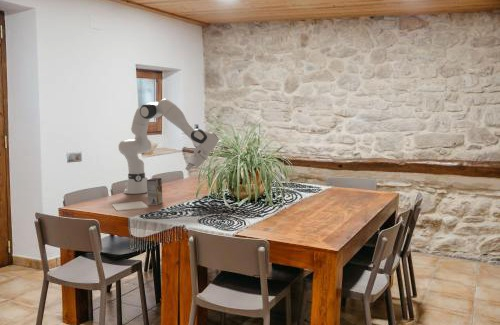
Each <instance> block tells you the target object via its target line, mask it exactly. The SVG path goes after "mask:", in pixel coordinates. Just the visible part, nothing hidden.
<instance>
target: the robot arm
mask: <svg viewBox="0 0 500 325" xmlns="http://www.w3.org/2000/svg"><path fill="white" fill-rule="evenodd" d="M160 117H164V118H165V119H166V120H167V121H168V122H170V123H172V125H174V126H176V127H177V128H178V129H179V130H181V131H182V132H183V133H184V134H185V135H186V136H187V137H188V139H190V140H191V142H192V144H193V146H194V148H195V149H194V151H193V153H192V154H190V155H189V157H187V159H185V163H186V164H187V165H186V166H185V170H186V171H190V170H191V169H193V167H195V168H199V167H200V166H201V165H202V164H203V163H204V162H205V161H206V160H208V159H209V155H210V153H211V152H213V150H214V149H215V148H216V147H217V146H218V144H217V142H218V141H220V140H219V138H218V136H217V135H216V134H215V133H214V132H209V131H205V130H202V129H200V128H193V127H192V126H191V125H190V124H189V122H188V120H187V118H186V116H185V114H184V112H183V111H182V109H181V108H180V107H178V105H176V103H174V102H172V101H171V100H170V99H168V98H163V99H161V100H158V101H152V102H148V103H144V104H142V105H141V106H139V107H137V109H136V111H135V113H134V116H133V119H132V123H131V128H130V130H131V134H133V135H134V137H135V138H131V139H130V138H129V139H124V140H122V141H120V142H119V144H118V151H119V153H120V154H121V155H123V157H124V158H125V160H126V162H127V166H128V167H127V168H128V173H127V174H128V175H127V178H128V179H127V181H126V183H124V187H125V188H124V191H123V193H124V194H129V195H130V194H132V195H134V194H135V195H138V194H145V193H147V180H148V179H147V178H146V173H145V162H144V161H143V160H142V159H140V157H139V156H138V155H139V154H140V155H141V154H145V153H149V152H150V151H151V149H152V142H151V140H150V139H149V138H148V129H149V124H150V121H151V119H157V118H160ZM218 143H219V142H218Z"/></svg>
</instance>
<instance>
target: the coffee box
mask: <svg viewBox="0 0 500 325" xmlns="http://www.w3.org/2000/svg"><path fill="white" fill-rule="evenodd" d="M146 180H147V192H146V193H147V206H159V205H160V204H162V203H163V201H164V200H163V189H162V188H163V186H162V184H163V182H162V177H153V178H150V179H146Z"/></svg>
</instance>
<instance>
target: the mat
mask: <svg viewBox="0 0 500 325" xmlns="http://www.w3.org/2000/svg"><path fill="white" fill-rule="evenodd" d="M111 206H112V207H113V208H114V210H115V209H116V210H115V211H116V212H120V211H131V210H140V209H142V210H143V209H149V205H148V204H146V203H145V202H143V201H142V200H141V201H140V200H139V201H131V202H130V201H129V202H121V203H120V202H119V203H112V204H111Z"/></svg>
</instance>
